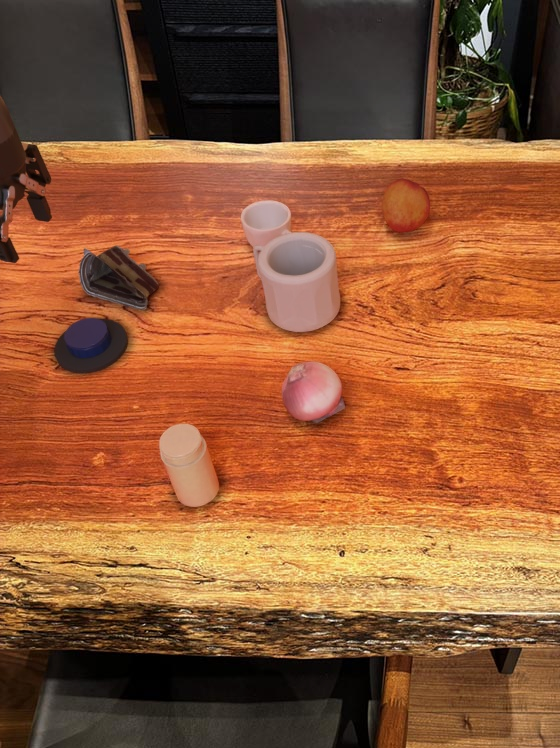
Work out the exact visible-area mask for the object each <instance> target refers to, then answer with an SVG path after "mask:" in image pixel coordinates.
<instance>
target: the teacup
mask: <svg viewBox="0 0 560 748" xmlns="http://www.w3.org/2000/svg"><path fill="white" fill-rule="evenodd" d="M240 222H241V223H240V224H241V227H242V230H243V233H244V237H245V239H246V241H247V243H248V244H249V245H250V246H251V247H252V248H253V247H254V246H256V245H260V246H265V245H266V244H267V243H268V242H269V241H271V240H272V239H274V238H276V237H278V236H281V235H284V234H287V233H293V232H292V212H291V210H290V208H289V207H288V206H287V205H286V204H285V203H283V202H280V201H277V200H272V199H270V200H269V199H265V200H259V201H255V202H253V203H251V204H249V205H247V206H246V207H245V208H243V210H242V212H241V214H240Z"/></svg>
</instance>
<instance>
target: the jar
mask: <svg viewBox="0 0 560 748" xmlns="http://www.w3.org/2000/svg"><path fill="white" fill-rule="evenodd" d="M158 446H159V447H158V448H159V452H160V453H159V454H160V459H161V461H162V465H163V466H164V469H165V472H166V473H167V477H168V478H169V481H170V484H171V486H172V488H173V491H174V493H175V496H176V498H177V500H178V501H179V502H180V503H181V504H182V505H184V506H187V507H189V508H190V507H191V508H195V507H196V508H197V507H201V506H204V505H208V503H210V502H211V501H213V499H214V498H216V496H217V495H218V493H219V489H220V482H219V478H218V475H217V471H216V469H215V466H214V463H213V461H212V457H211V453H210V450H209V448H208V444H207V442H206V440H205V438H204V437H203V435H202V434H201V432H200V430H199V429H198V428H197V427H196V426H195V425H193V424H189V423H177V424H174V425H171V426H169V427H168V428H167V429H165V430H164V431H163V433H162V434H161V436H160V437H159V442H158Z"/></svg>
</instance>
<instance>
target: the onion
mask: <svg viewBox="0 0 560 748" xmlns="http://www.w3.org/2000/svg"><path fill="white" fill-rule="evenodd" d="M280 392H281V398H282V404H283V405H284V408H285V410H286V411H287V412H288V414H289V415H290V416H291V417H292V418H293V419H296V420H298V421H304V422H309V421H310V422H312V423H313V424H318V423H320V422H322V421H324V420H326V419H328V418H329V417H331V416H333V415H335V414H337V413H339V412H341V411H343V410H345V409H346V405H345V402H344V398H343V396H342V394H343V383H342V381H341V379H340V377H339V376H338V374H337V373H336V372H335V370H334V369H332V368H331V367H330V366H329V365H326V364H324V363H322V362H319V361H316V360H315V361H314V360H312V361H304V362H298V363H296V364H294V365H293V366H292V367H291V368H290V370H289V371H288V373H287V375H286V376H285V378H284V380H283V382H282V385H281V391H280Z"/></svg>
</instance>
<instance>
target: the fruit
mask: <svg viewBox="0 0 560 748" xmlns="http://www.w3.org/2000/svg"><path fill="white" fill-rule="evenodd" d="M430 212H431V199H430V195H429V194H428V191H427V190H426V188H425V187H423V186H422V185H420V184H419V183H416V182H415V181H412V180H411V179H409V178H404V177H403V178H398V179H396V180H394V181H392V182H390V184H389V185H388V186H387V187H386V189H385V191H384V193H383V196H382V200H381V214H382V216H383V219H384V220H385V222H386V224H387V226H388V227H389V228H390V229H391V230H392V231H394V232H396V233H398V234H399V233H401V234H402V233H403V234H404V233H411V232H414V231H416V230H417V229H419V228H420V227H421V226H422V225H423V224H424V223H425V222H426V221H427V218H428V217H429V215H430Z"/></svg>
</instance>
